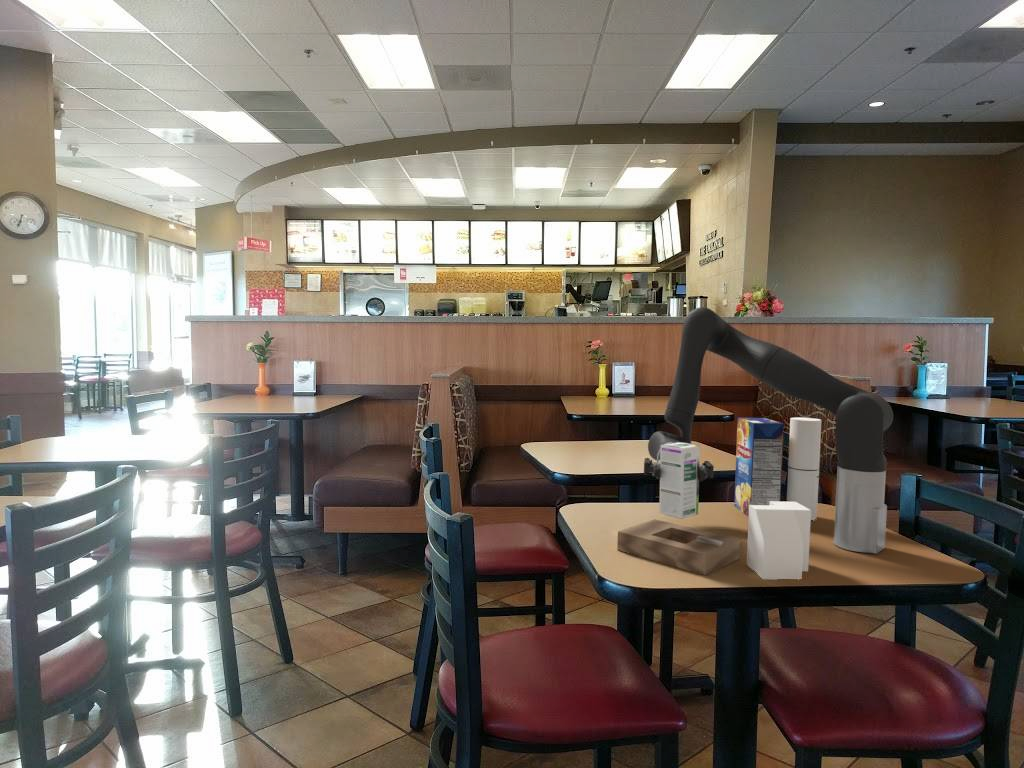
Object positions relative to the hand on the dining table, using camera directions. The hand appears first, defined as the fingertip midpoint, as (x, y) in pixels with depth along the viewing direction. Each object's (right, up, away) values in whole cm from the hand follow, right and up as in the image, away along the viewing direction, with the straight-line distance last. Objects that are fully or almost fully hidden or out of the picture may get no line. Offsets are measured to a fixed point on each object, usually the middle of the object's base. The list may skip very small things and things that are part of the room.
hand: (680, 475), depth 131 cm
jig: (0, -17, +3) cm, 17 cm away
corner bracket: (+18, -18, -5) cm, 26 cm away
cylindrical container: (+40, -16, +34) cm, 54 cm away
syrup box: (0, -9, +2) cm, 9 cm away
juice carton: (+30, -15, +38) cm, 51 cm away
